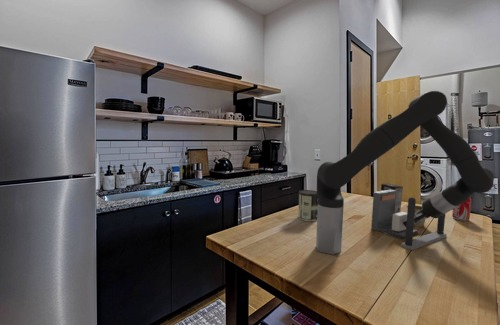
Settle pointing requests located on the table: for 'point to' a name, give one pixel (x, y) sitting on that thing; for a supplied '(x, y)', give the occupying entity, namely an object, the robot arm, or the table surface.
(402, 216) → the block
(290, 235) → the table surface
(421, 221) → the flower pot
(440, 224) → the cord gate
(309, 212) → the coffee can
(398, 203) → the coffee box
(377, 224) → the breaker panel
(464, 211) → the soda can
